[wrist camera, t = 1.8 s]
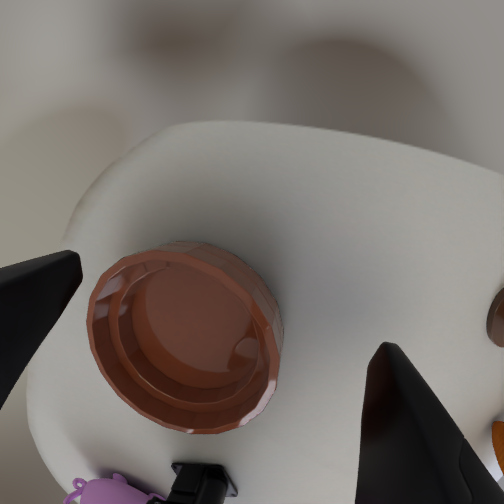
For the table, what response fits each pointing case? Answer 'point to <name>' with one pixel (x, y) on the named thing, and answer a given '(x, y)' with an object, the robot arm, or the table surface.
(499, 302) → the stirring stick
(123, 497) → the teapot
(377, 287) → the table surface
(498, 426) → the carrot
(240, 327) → the bowl
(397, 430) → the robot arm
